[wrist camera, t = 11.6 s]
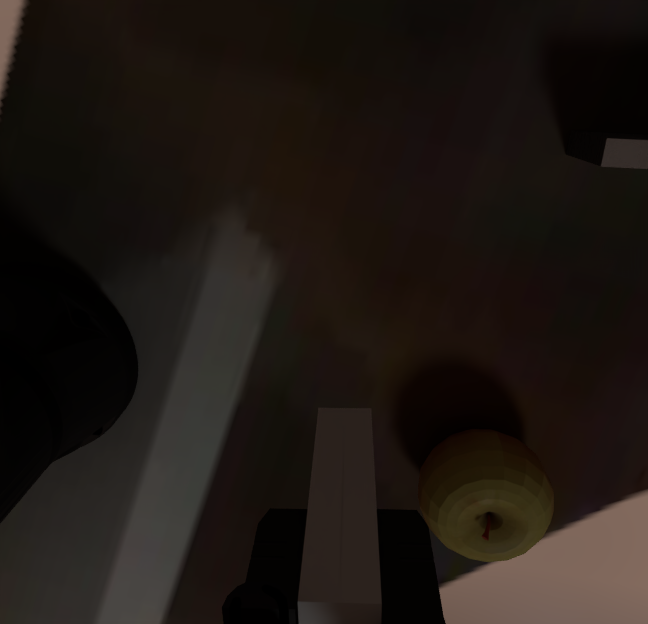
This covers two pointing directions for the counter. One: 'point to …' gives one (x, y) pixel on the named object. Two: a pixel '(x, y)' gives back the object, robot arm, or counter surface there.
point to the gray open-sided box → (609, 148)
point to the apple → (485, 495)
